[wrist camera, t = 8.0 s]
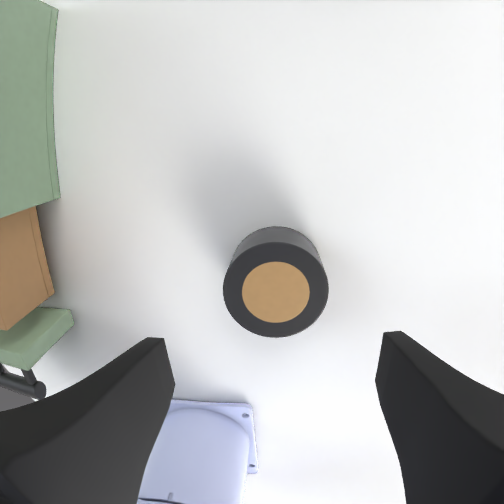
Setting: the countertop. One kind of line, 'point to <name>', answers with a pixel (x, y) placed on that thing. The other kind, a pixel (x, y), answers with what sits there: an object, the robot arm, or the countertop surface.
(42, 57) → the cabinet
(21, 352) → the drawer
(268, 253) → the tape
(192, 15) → the countertop surface
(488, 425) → the robot arm
